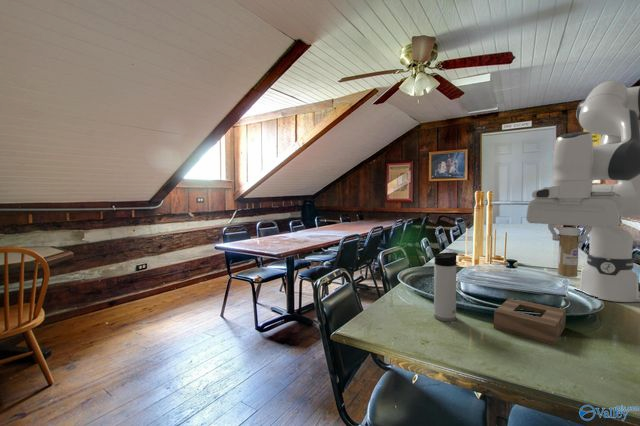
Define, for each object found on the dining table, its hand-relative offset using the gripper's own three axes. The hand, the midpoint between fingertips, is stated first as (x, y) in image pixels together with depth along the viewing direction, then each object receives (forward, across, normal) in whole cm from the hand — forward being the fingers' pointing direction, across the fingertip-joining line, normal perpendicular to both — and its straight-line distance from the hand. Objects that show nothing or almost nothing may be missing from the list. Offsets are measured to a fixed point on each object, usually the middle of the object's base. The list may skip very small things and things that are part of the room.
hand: (568, 241), depth 89 cm
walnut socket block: (+24, +7, +9) cm, 26 cm away
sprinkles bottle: (+10, 0, 0) cm, 10 cm away
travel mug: (+24, +27, +18) cm, 40 cm away
